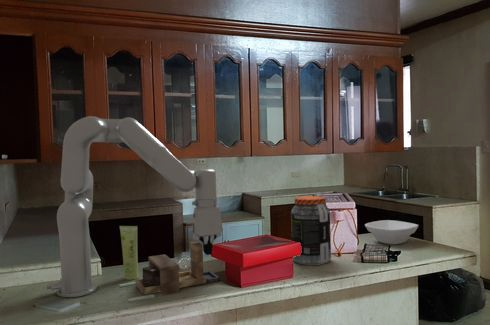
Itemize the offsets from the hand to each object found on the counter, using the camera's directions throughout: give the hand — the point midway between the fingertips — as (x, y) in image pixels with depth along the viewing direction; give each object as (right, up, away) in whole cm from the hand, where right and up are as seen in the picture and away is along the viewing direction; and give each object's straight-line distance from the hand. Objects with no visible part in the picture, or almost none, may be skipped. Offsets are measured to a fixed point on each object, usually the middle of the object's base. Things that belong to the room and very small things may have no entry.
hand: (208, 253), depth 154 cm
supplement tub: (+40, -7, +19) cm, 45 cm away
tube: (-29, -10, +4) cm, 31 cm away
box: (-17, -10, -8) cm, 22 cm away
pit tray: (0, -9, 0) cm, 9 cm away
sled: (-12, -9, -6) cm, 16 cm away
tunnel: (-15, -10, -7) cm, 19 cm away
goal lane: (-23, -10, -11) cm, 28 cm away
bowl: (+82, -5, +45) cm, 94 cm away
